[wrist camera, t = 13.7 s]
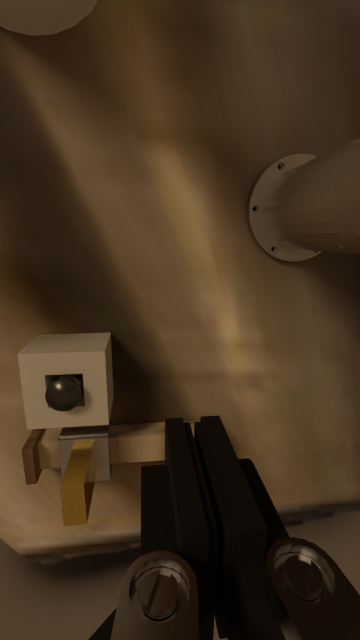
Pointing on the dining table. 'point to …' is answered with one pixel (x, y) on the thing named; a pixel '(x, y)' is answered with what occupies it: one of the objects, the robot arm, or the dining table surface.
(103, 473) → the carriage
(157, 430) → the rail
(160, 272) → the dining table surface
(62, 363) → the housing
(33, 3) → the cylinder
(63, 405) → the plunger
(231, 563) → the robot arm
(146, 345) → the dining table surface
